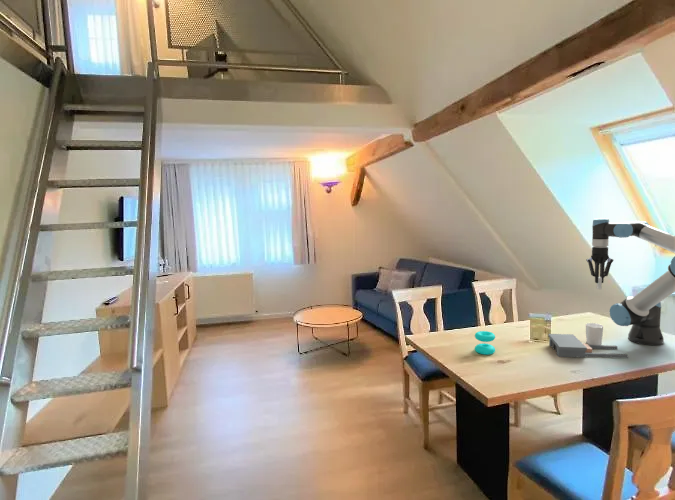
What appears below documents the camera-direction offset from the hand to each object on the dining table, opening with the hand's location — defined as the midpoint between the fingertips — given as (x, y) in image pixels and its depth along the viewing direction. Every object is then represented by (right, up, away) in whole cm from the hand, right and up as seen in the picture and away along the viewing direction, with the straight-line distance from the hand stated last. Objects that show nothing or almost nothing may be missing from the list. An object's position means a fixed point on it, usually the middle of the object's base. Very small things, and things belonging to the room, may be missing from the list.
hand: (598, 288), depth 228 cm
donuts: (-68, -32, -14) cm, 77 cm away
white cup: (-9, -28, -10) cm, 31 cm away
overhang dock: (-19, -30, -21) cm, 41 cm away
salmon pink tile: (-25, -30, -19) cm, 44 cm away
